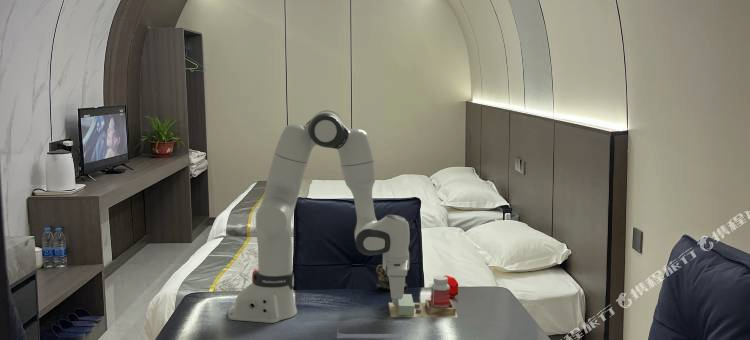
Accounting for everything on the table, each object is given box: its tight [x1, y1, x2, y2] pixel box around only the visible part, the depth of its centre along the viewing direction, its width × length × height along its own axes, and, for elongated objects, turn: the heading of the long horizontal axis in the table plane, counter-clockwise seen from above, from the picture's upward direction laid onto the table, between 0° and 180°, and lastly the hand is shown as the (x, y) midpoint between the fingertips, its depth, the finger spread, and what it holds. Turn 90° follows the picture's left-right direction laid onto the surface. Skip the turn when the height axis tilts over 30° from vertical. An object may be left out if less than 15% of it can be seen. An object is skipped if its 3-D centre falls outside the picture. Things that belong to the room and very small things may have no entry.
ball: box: [443, 275, 459, 299], centre depth 242 cm, size 8×8×8 cm
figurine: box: [375, 264, 409, 291], centre depth 249 cm, size 12×11×15 cm
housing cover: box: [398, 293, 415, 315], centre depth 225 cm, size 5×12×3 cm, turn 1°
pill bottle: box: [430, 275, 450, 308], centre depth 225 cm, size 6×6×11 cm
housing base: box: [388, 299, 459, 318], centre depth 226 cm, size 22×14×3 cm, turn 91°
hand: (395, 303), depth 225 cm, fingers closed, pressing on housing cover
